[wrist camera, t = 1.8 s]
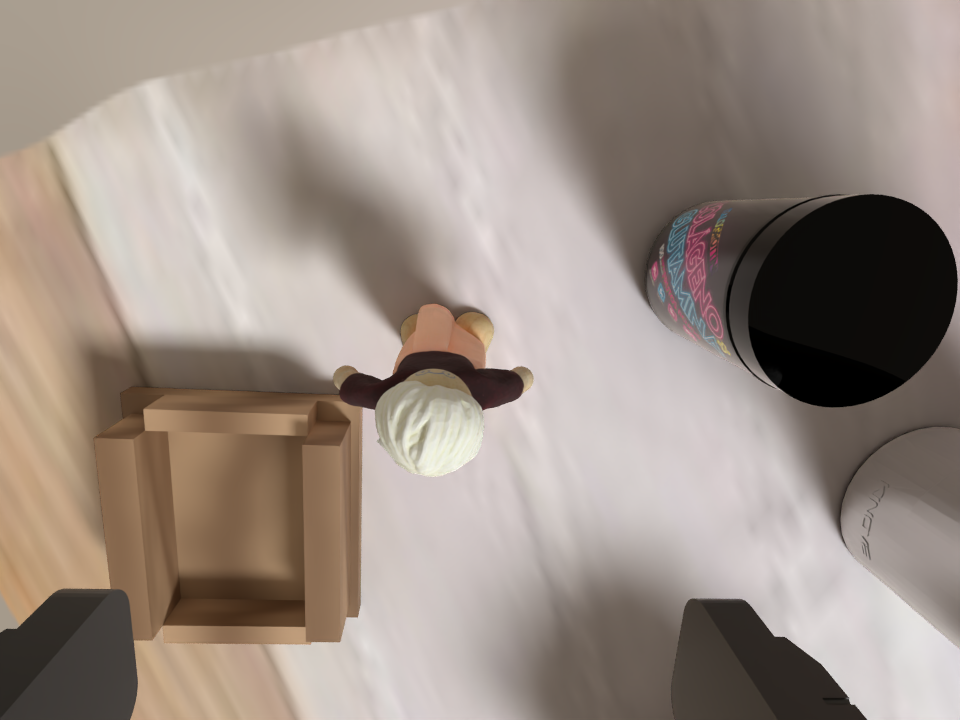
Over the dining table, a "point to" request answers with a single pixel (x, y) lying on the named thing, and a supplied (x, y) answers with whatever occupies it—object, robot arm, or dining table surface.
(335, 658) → the dining table surface
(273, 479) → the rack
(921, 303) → the supplement container
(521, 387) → the grandmother figurine
